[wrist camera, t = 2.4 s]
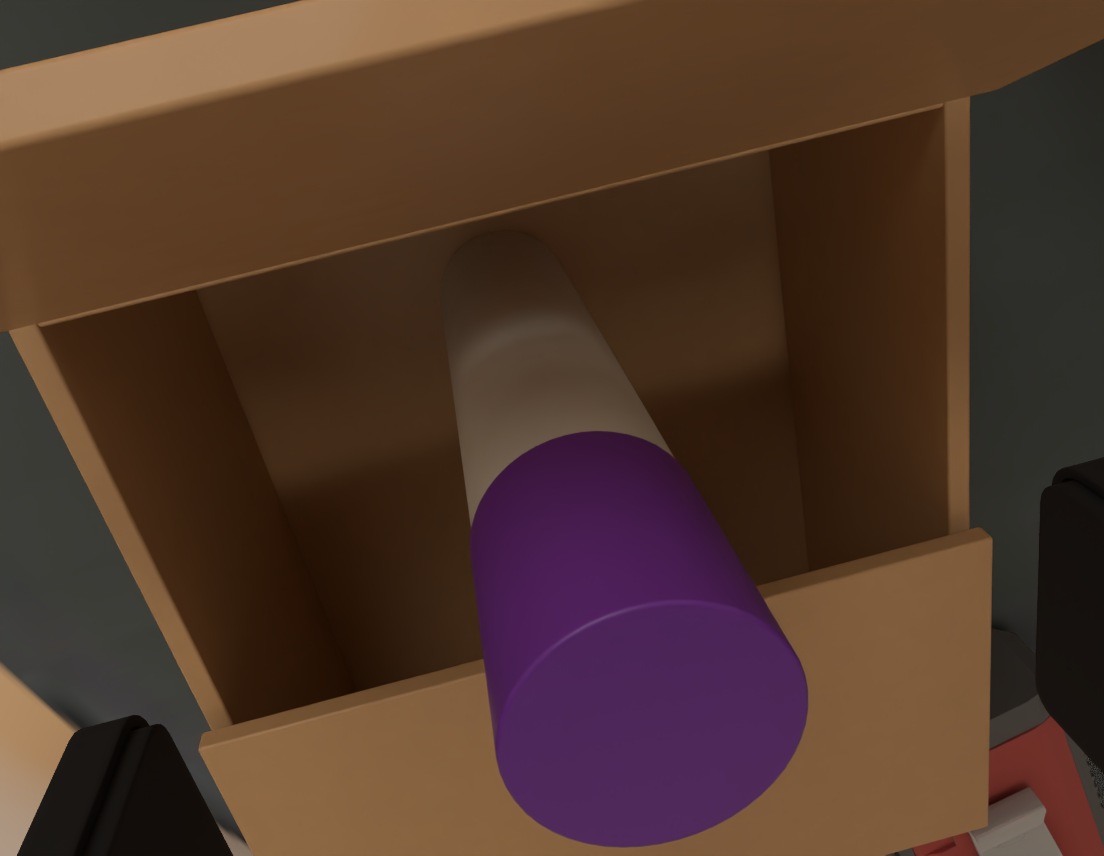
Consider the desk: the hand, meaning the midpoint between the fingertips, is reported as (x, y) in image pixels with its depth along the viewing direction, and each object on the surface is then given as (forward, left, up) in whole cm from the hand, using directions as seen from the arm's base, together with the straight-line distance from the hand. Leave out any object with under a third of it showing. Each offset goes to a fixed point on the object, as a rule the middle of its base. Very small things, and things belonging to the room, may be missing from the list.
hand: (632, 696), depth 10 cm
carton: (+3, 0, -13) cm, 14 cm away
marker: (0, 0, -13) cm, 13 cm away
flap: (-5, 0, -1) cm, 6 cm away
